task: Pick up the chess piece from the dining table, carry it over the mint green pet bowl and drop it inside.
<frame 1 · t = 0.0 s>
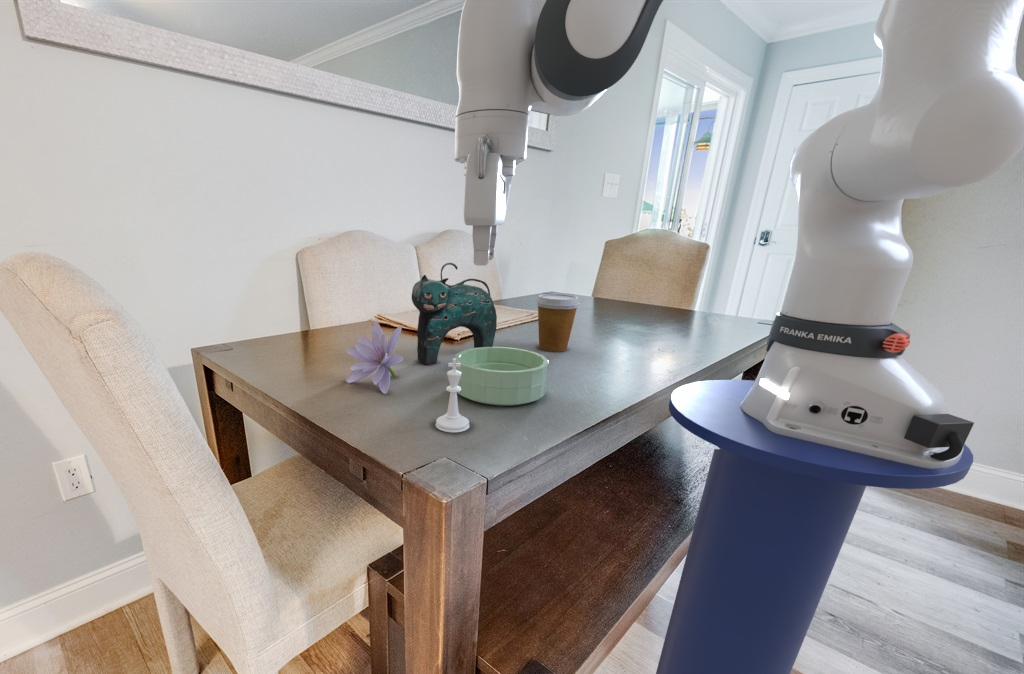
hand: (484, 262, 62), 22 cm above the table, tool pointing down, fingers open, 8 cm apart
ceramic cat: (453, 358, 100), on the table
disposable coffee cup: (552, 349, 108), on the table
mint green pet bowl: (498, 391, 80), on the table
water lily: (373, 383, 84), on the table
chess piece: (452, 426, 67), on the table
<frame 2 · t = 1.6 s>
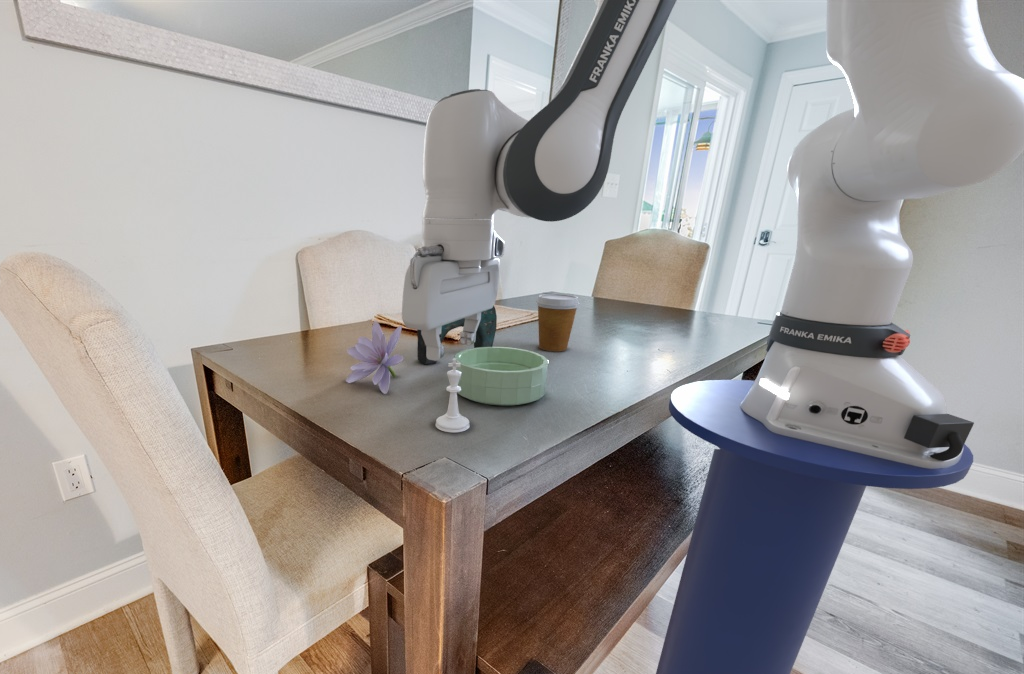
hand: (452, 351, 63), 11 cm above the table, tool pointing down, fingers open, 8 cm apart
nothing on the table moved.
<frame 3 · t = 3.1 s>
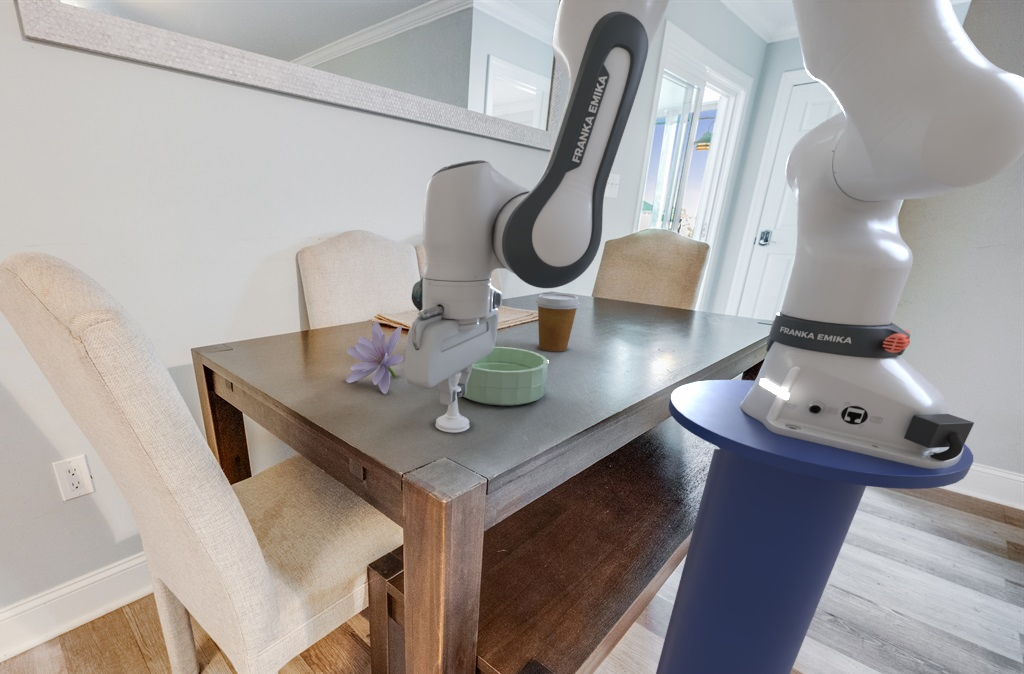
hand: (453, 399, 65), 4 cm above the table, tool pointing down, fingers closed on chess piece
chess piece: (452, 426, 67), on the table, touching gripper
everything else where it was.
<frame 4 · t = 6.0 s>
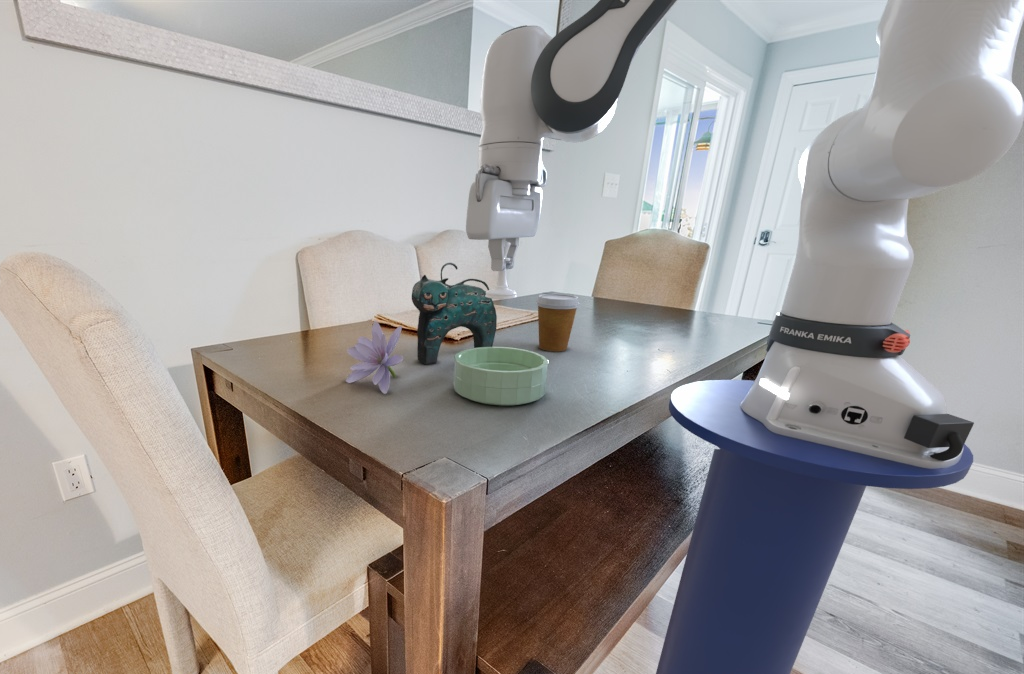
hand: (502, 269, 71), 21 cm above the table, tool pointing down, fingers closed on chess piece
chess piece: (500, 298, 72), point 16 cm above the table, touching gripper
everything else where it was.
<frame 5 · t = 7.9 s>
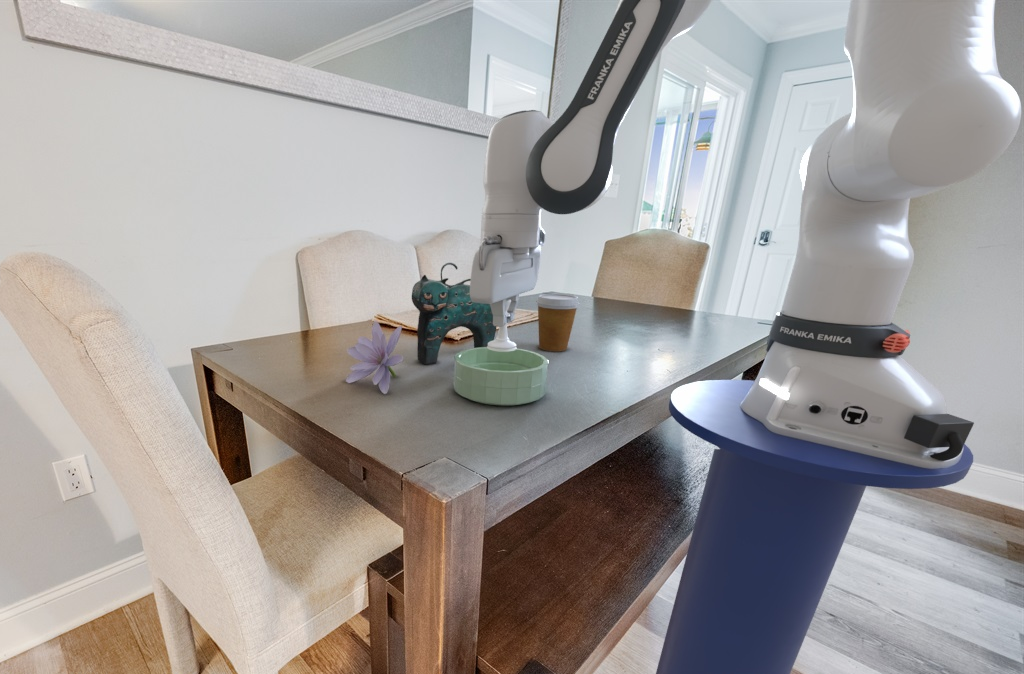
hand: (503, 324, 76), 12 cm above the table, tool pointing down, fingers closed on chess piece
chess piece: (501, 349, 77), point 8 cm above the table, touching gripper
everything else where it was.
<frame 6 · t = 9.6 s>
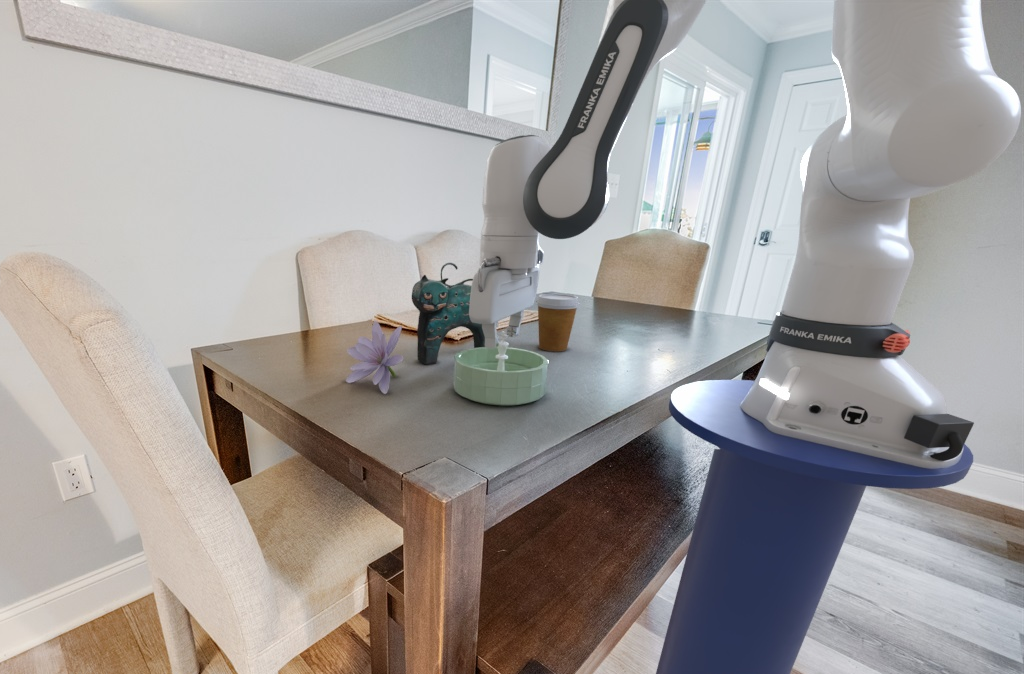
hand: (502, 341, 77), 9 cm above the table, tool pointing down, fingers open, 8 cm apart
chess piece: (499, 389, 80), resting on mint green pet bowl
everything else where it was.
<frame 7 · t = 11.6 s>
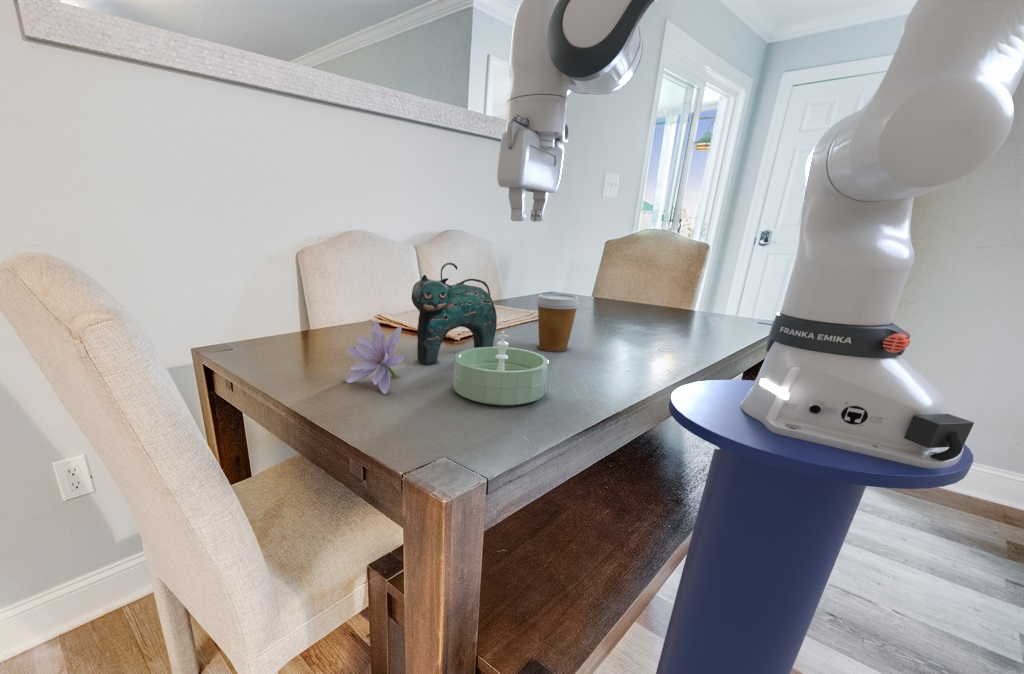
hand: (527, 221, 75), 28 cm above the table, tool pointing down, fingers open, 8 cm apart
nothing on the table moved.
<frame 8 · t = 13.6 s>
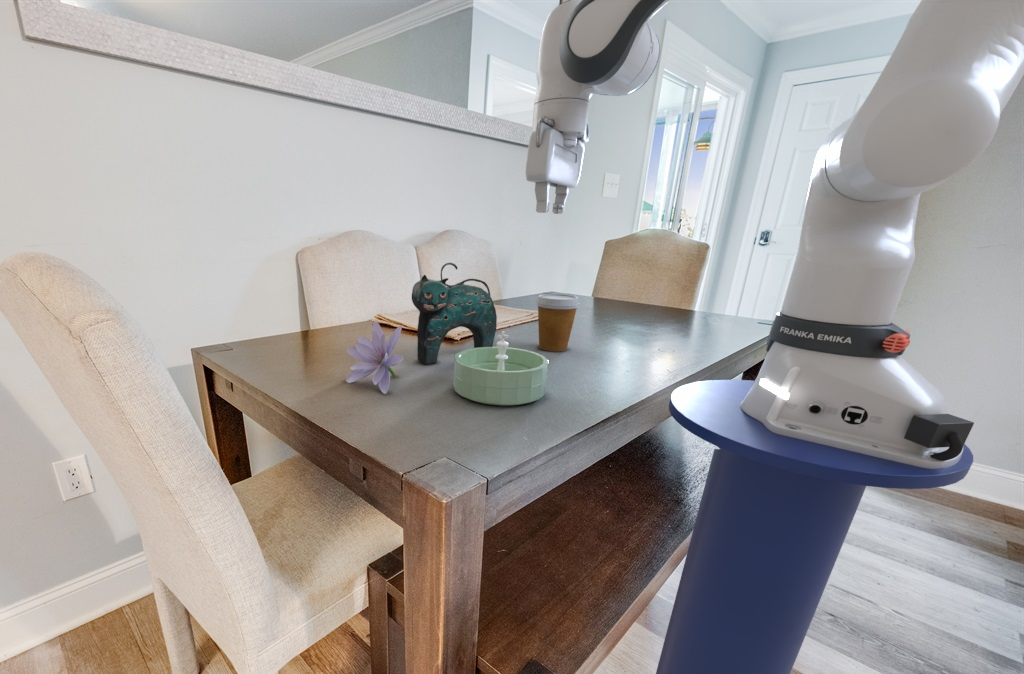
hand: (550, 213, 83), 29 cm above the table, tool pointing down, fingers open, 8 cm apart
nothing on the table moved.
at the end: chess piece inside the target area in the mint green pet bowl (0.1 cm from its centre), point 0.4 cm above the mint green pet bowl's base; the gripper is holding nothing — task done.
